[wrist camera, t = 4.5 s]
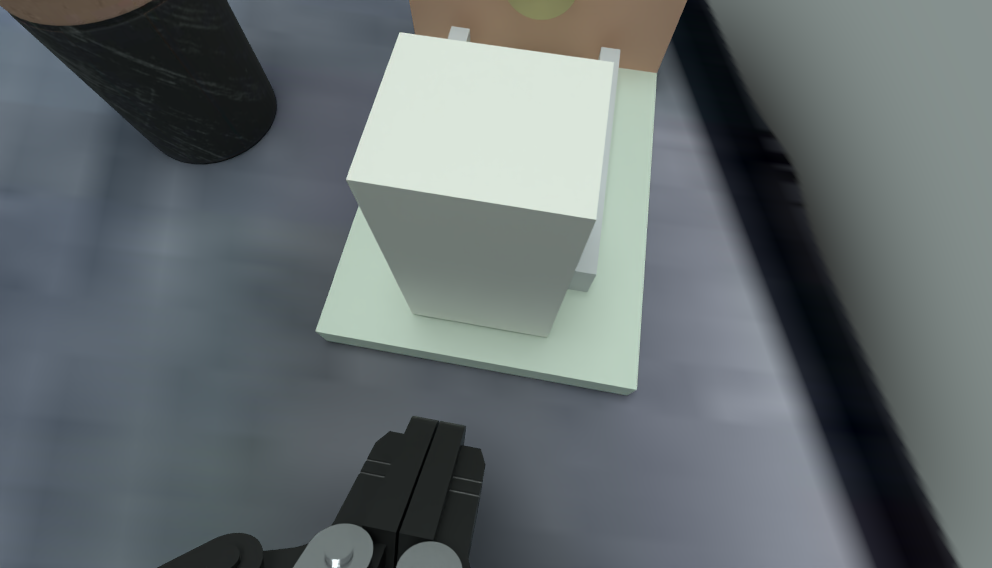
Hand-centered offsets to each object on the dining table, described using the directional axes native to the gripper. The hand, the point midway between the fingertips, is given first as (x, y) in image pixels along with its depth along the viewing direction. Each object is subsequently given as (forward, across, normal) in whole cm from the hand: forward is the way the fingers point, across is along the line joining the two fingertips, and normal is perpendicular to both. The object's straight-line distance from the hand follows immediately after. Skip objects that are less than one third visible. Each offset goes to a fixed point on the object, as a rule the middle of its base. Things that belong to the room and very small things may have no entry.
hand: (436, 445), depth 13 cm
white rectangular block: (+10, 0, -1) cm, 10 cm away
